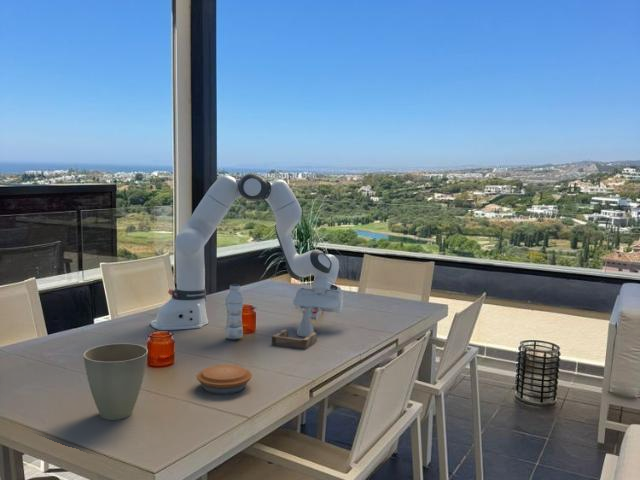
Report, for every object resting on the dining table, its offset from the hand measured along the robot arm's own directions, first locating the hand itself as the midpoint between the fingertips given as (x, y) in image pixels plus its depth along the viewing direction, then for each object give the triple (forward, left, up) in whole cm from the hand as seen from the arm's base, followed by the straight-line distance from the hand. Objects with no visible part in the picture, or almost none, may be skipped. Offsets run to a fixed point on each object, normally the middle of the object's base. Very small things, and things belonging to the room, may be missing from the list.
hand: (313, 318), depth 229 cm
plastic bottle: (-33, +3, -5) cm, 33 cm away
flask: (-6, -5, -5) cm, 9 cm away
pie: (-56, -41, -5) cm, 70 cm away
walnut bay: (-15, -11, -5) cm, 19 cm away
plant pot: (-87, -46, -5) cm, 99 cm away
